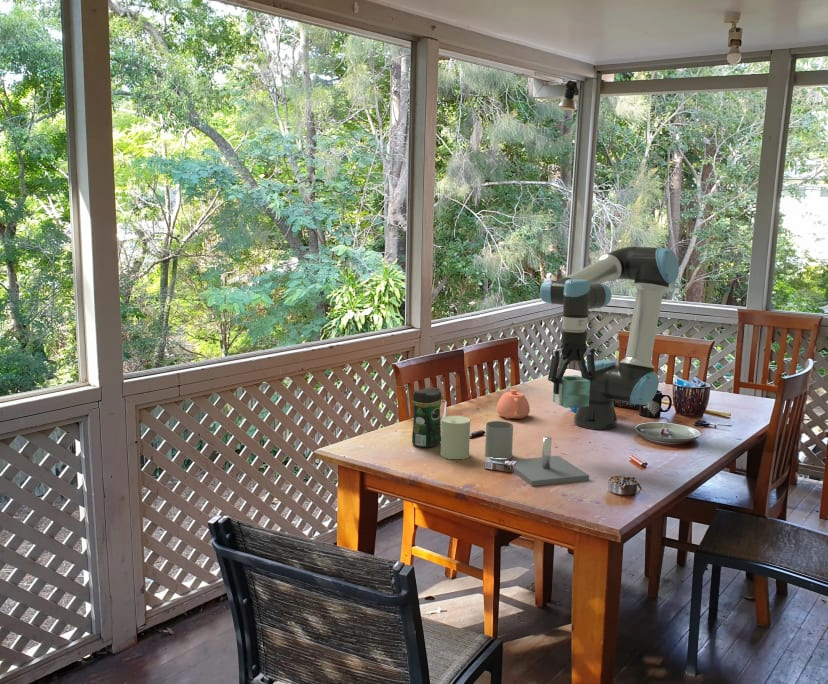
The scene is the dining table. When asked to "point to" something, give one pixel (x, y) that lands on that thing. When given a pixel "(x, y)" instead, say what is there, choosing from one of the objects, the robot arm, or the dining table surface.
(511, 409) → the sugar bowl
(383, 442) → the dining table surface
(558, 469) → the board
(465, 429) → the can
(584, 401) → the bead
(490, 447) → the cup
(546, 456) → the rod
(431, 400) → the coffee jar
